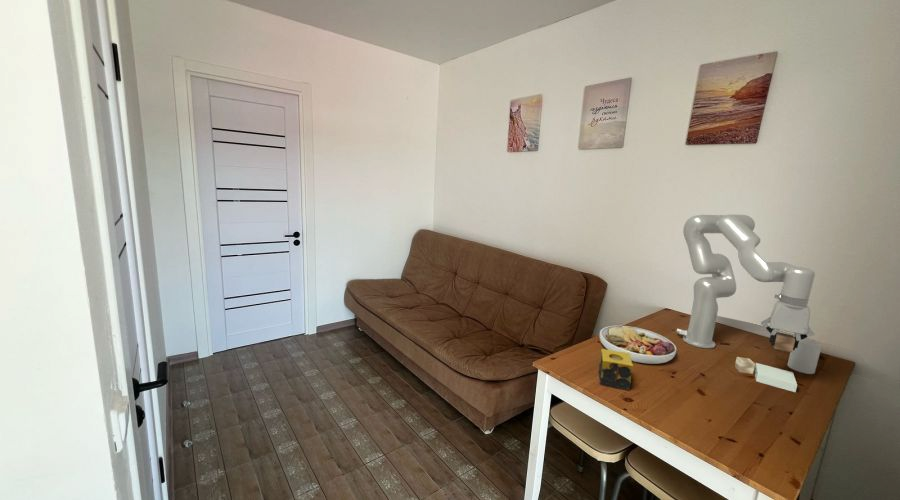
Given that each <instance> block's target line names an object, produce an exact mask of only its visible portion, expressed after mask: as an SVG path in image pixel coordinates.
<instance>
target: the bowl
mask: <svg viewBox="0 0 900 500" xmlns="http://www.w3.org/2000/svg"><path fill="white" fill-rule="evenodd" d="M599 341H600V342H601V344H602V345H603V347H605V348H604V349H606V350H612V351H618V352H625V353H630V357H631V362H635V363H640V364H641V363H642V364H648V365H649V364H650V365H656V364H658V365H659V364H660V365H661V364H664V363H667V362H669V361H671V360H672V359H673V358H675V356H676V354H677V346H676V345H675V344H674V343H673V341H671V340H670V339H669V338H667V337H665V336H663V335H661V334H659V333H657V332H654V331H651V330H648V329H644V328H641V327H635V326H629V325H628V326H627V325H610V326H605V327H603V328H602V329H600V331H599Z"/></svg>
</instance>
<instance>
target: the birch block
mask: <svg viewBox="0 0 900 500" xmlns="http://www.w3.org/2000/svg"><path fill="white" fill-rule="evenodd" d="M755 364H756V362H754V361H752V360H751V359H750V358H747V357H742V356H741V357H740V356H736V359H735V364H734V368H735V369H737V370H738V372H739V373H743V374H744V373H745V374H749V375H751V374H752V375H753V374H754V372H755V371H754V369H755Z"/></svg>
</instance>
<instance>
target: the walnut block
mask: <svg viewBox="0 0 900 500" xmlns="http://www.w3.org/2000/svg"><path fill="white" fill-rule="evenodd" d="M794 337H795V335H794V334H788V333H783V332H779V331H777V333H776V340H775V344H774V346H773V348H774V349H776V350H780V351H783V352H788V353H790V352H792V351H793V347H794V343H795V338H794Z"/></svg>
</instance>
